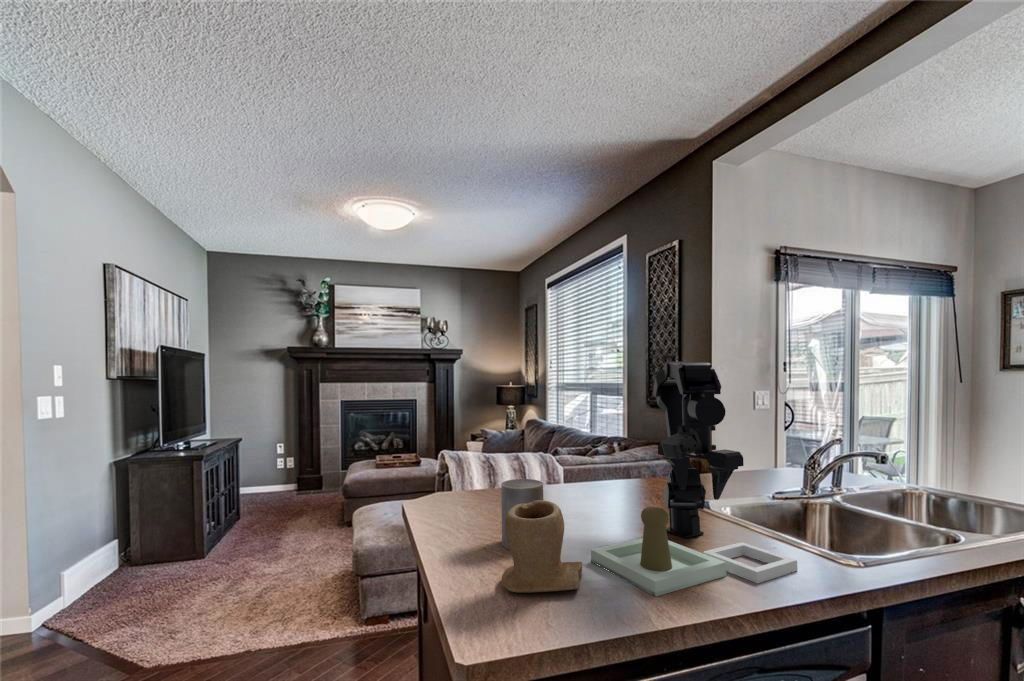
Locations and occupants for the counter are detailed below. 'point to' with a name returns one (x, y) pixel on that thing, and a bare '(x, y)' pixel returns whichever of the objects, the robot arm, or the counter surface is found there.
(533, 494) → the pillar candle
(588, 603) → the counter surface
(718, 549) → the collar block
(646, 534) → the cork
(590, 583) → the counter surface
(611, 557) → the tray
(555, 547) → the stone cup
